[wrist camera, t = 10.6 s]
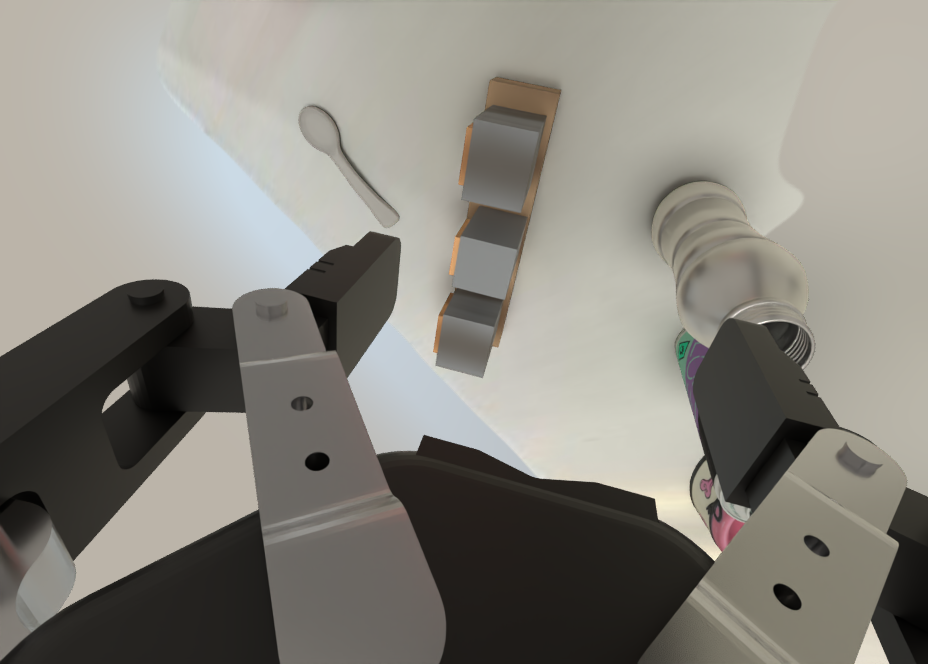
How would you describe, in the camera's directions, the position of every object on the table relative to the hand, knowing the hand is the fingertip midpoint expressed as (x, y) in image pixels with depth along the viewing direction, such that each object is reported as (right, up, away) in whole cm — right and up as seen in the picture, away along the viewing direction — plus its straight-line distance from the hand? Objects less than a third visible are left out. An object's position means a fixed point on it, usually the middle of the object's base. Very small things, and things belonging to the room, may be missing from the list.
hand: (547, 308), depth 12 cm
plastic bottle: (+16, +9, +27) cm, 33 cm away
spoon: (-12, +14, +31) cm, 36 cm away
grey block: (+1, +8, +28) cm, 29 cm away
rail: (+1, +9, +30) cm, 32 cm away
